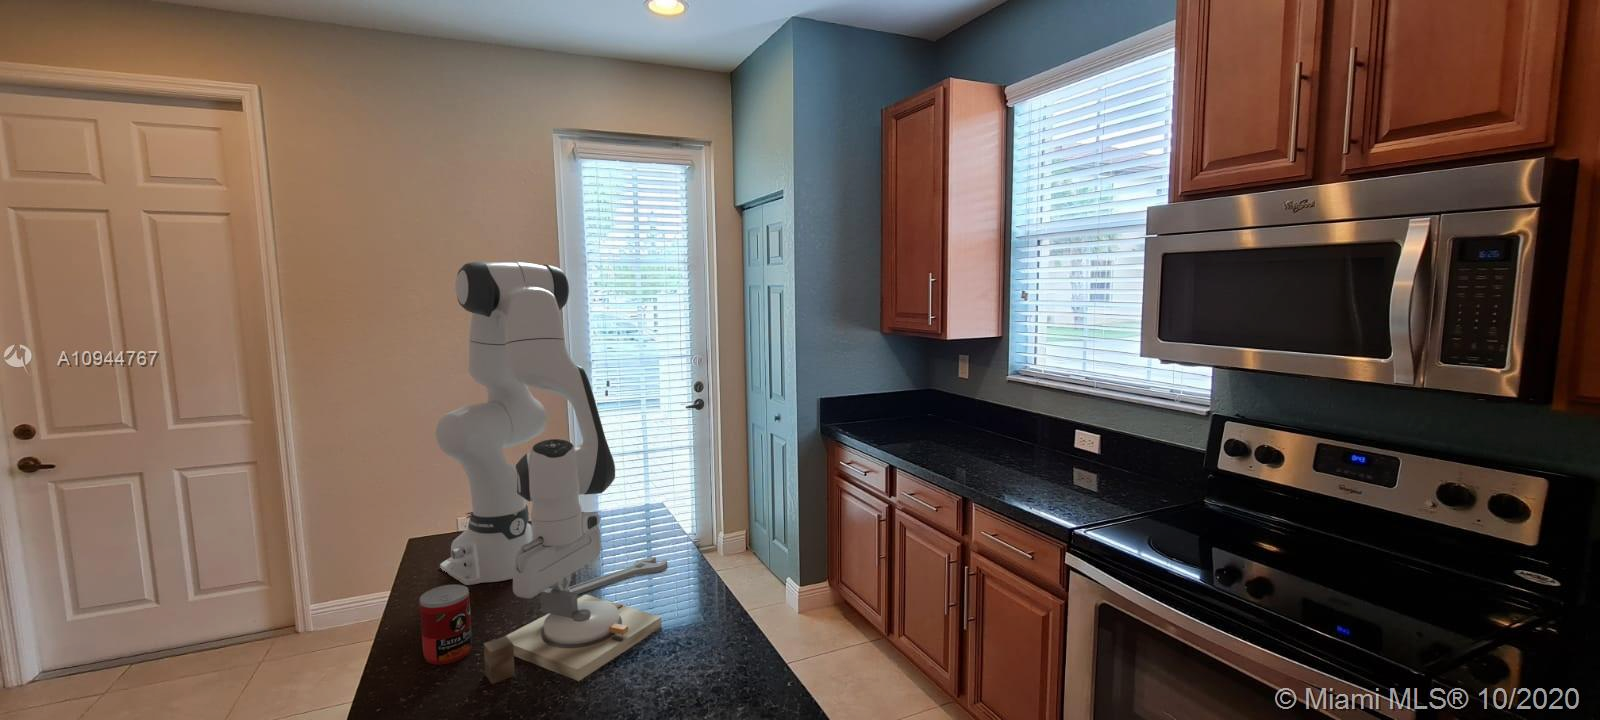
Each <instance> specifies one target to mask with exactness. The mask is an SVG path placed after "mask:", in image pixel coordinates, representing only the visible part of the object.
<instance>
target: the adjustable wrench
mask: <svg viewBox="0 0 1600 720" xmlns="http://www.w3.org/2000/svg"><path fill="white" fill-rule="evenodd" d="M655 562H656V563H655ZM667 568H668V559H666V558H665V559H663V560H662V561H661V562H657V558H656V556H651V557H646V558H643V559H638V560H636V562H635V563H633V565H632V566H629V567H627V568H624V569H621V570H617V571H614V572H612V573H609V574H605V575H602V576H599V577H596V578H592V579H590V580H587V581H583V582H581V583H577V584H574V585H572V586H571V585H570V586H569V587H568V589H567V592H573V593H577V595H580V594H583V593H586V592H589V591H592V590H595V589H598V588H601V587H604V586H607V585H609V584H613V583H616V582H619V581H622V580H626V579H628V578H631V577H634V576H637V575H645V574H652V572H653V573H657V572H658V571H659V572H661V571H665V569H667ZM659 572H658V573H659Z"/></svg>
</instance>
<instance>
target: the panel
mask: <svg viewBox="0 0 1600 720" xmlns="http://www.w3.org/2000/svg"><path fill="white" fill-rule="evenodd" d="M585 601H602V602H607V603H610V604H613V605H614V606H616V607H617V609H618V611H619V624H621V625H626V626H628V632H627V633H625V634H624V635H621V634H616V633H612V632H611V633H609V634H608V635H606V636H604V637H602V638H600V639H597V640H594V641H591V642H587V643H581V644H558V643H555V642H552V641H550V640H548V639H547V638H546V637H545V634H544V621H545V619H546V618H547V616H548V615H550V614H549V613H546V614H545V615H543V616H541V617H539V618H537V619H535V620H534V621H531V622H530V623H528V624H525V625H524V626H522V627H519V628H518V629H516V630H514V631H512V632H510V633H508V634H506V635H505V636H507V638H508V639H509V640H510V641H511V642H512V643H513V650H514V657H516V658H519V659H521V660H523V661H526V662H529V663H531V664H533V665H536V666H539V667H542V668H544V669H546V670H549V671H552V672H555V673H557V674H559V675H561V676H564V677H567V678H569V679H572V680H574V681H577V682H580V681H582V680H583V679H584V678H586V677H588V676H589V675H591V674H592V673H593V672H595V671H596V670H598V669H600V668H602V666H604V665H606V664H608V663H609V662H610V661H612V660H614V659H615V658H617V657H618V656H619V655H621V654H622V653H625V652H626V651H627V650H629V649H630V648H632V647H634V646H635V645H636V644H638V643H639V642H641V641H642V640H644V639H645V638H647V637H649V636H651V635H652V634H653V633H655V632H656V631H658V630H659V629H661V628H662V627H661V626H663V625H662V616H660V615H656V614H653V613H649V612H646V611H642V610H640V609H635V608H633V607H629V606H626V605H623V603H617V602H616V603H615V602H612V601H609V600H605V599H603V598H600V597H595V596H592V595H589V594H584V595H582V596H580V597H577V602H585ZM660 627H661V628H660ZM658 628H659V629H658ZM657 629H658V630H657ZM655 630H656V631H655ZM654 631H655V632H654ZM652 632H653V633H652ZM651 633H652V634H651ZM648 635H649V636H648Z"/></svg>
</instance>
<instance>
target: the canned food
mask: <svg viewBox="0 0 1600 720" xmlns="http://www.w3.org/2000/svg"><path fill="white" fill-rule="evenodd" d="M470 602H471V600H470V592H469V588H468V587H467V585H466V586H465V585H464V584H463V585H462V584H445V585H440V586H438V587H434V588H432V589H429V590H428V591H425V592H424V593H422V594H421V596H420V597H419V614H420V615H419V617H420V627H421V640H422V652H423V657H424V659H425V661H426V663H428V664H431V665H448V664H451V663H454V662H457V661H460V660H461V659H463V658H465V657H467V655H468V654H470V653H471V650H472V647H473V635H472V633H473V632H472V621H471V620H472V618H471V617H472V616H471V603H470Z"/></svg>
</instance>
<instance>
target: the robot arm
mask: <svg viewBox="0 0 1600 720" xmlns="http://www.w3.org/2000/svg"><path fill="white" fill-rule="evenodd" d="M454 284H455V294H456V298H457V301H458V304H459V305H460V306H461V307H462V308H463V310H465V311H467V312H469V313H472V314H471V319H470V329H469V342H468V343H469V344H468V345H469V346H468V347H469V348H468V349H469V350H468V351H469V352H468V373H469V375H470V377H471V379H473V380H474V381H475V382H476V383H478V384H480V385H482V386H484V388H485V389H486V393H487V402H481V403H477V404H471V405H470V404H469V405H464V406H461V407H459V408H456V409H454V410H452V411H450V412H448V413H445V414H443V415H442V416H441V417H440V418H439V420H438V422H437V424H436V428H435V440H436V442H437V443H436V444H437V445H438V447H439V448H440V449H441V450H442V452H443V453H444V454H446V455H447V456H448V457H451V458H453V459H454V460H455V461H457V462H458V463H459V464H460V466H461V467H462V469H464V471H465V474H466V476H467V479H468V481H469V487H470V488H469V489H470V497H471V506H472V511H471V512H466V513H465V515H468V516H466V519H468V520H469V521H468V526H467V528H466V529H465V530H464V531H463V532H462V533H461V534H460V535H458V536H457V537H456V538H455V539H454V540H453V541H452V543H451V546H450V557H449V558H447V559H446V560H444V561H442V562H441V563H440V564H439V569H440V568H441V569H442V570H441V569H440V570H441V571H442V572H444V571H445V573H446V572H447V573H448V574H447V573H446V574H447V575H448V576H451V577H452V578H453V579H455V580H457V581H458V580H459V582H460V583H462V584H463V585H464V586H465V585H466V586H470V585H476V584H480V583H481V584H482V583H494V582H495V583H497V582H501V581H502V582H504V581H508V580H512V592H513V594H514V595H515V596H516V597H519V598H522V599H533V598H534V597H536V596H537V595H539V594H541V592H542V591H544V590H546V589H547V588H551V589H555V590H560V591H561V590H562V591H567V589H568V587H570V583H571V581H572V574H573V573H575V572H576V571H579V570H580V569H582V568H583V567H585V566H587V565H588V564H589V563H591V562H593V561H594V560H597V559H598V558H599V556H600V554H601V550H602V541H601V540H602V538H601V537H602V536H601V529H600V527H599V524H600V521H601V517H600V514H598V513H593V512H587V511H582V510H583V509H582V505H581V502H580V500H579V499H580V495H585V496H586V495H597V494H602V493H603V492H605V491H606V490H607V489H608V488H609V487H610V486H611V485H612V484H613V482H614V480H615V479H616V464H615V460H614V457H613V455H612V452H611V450H610V447H609V445H608V442H607V438H606V435H605V432H604V428H603V425H602V421H601V417H600V414H599V410H598V407H597V402H596V399H595V397H594V396H595V395H594V393H593V390H592V389H593V388H592V386H591V383H590V380H589V378H588V375H587V373H586V371H585V369H584V367H583V366H580V365H578V364H576V363H575V362H574V361H573V360H572V358H571V356H570V355H569V352H568V349H567V347H566V341H565V339H566V338H565V330H564V325H563V320H562V315H561V310H562V309H563V308H564V307H565V305H567V302H568V301H569V300H568V299H569V293H570V287H569V286H570V285H569V281H568V278H567V276H566V275H565V272H564V271H563V270H562V269H561V268H559V267H556V266H553V265H549V264H542V265H541V264H537V263H531V262H523V261H513V262H509V261H504V262H503V261H497V262H495V261H493V262H492V261H490V262H485V261H483V260H482V261H481V260H480V261H472V262H469V263H465V264H464V265H462V266H461V268H460V269H459V270H458V272H457V276H456V281H455V283H454ZM529 387H532V388H535V389H539V390H542V391H546V392H549V393H552V394H553V393H554V394H556V395H559V396H561V397H563V398H565V399H566V400H568V402H569V403H570V404H571V405H572V407H573V410H574V413H575V416H576V419H577V424H578V427H579V431H580V434H581V438H582V444H580V445H577V446H575V445H574V444H573V443H572V442H571V441H568V440H565V439H559V438H551V439H545V440H541V441H539V442H537V443H535V444H534V445H533V446H532V447H531V448H530V452H528V453H525V454H524V455H523V456H522V457H521V458H520V459H519V460H518V462H517V463H516V464H515V466H514V465H512V464H510V463H509V464H508V462H507V460H506V458H505V454H504V449H506V448H510V447H513V446H518V445H521V444H526V443H528V441H529V442H530V441H531V440H532V439H535V438H537V437H538V436H540V435H541V434H542V433H544V431H545V429H546V426H547V422H548V420H547V419H548V415H547V412H546V408H545V407H544V405H543V404H542V403H541V401H539V400H538V399H536V398H535V397H534V396H533V394H532V393H531V391H530V390H529ZM526 502H532V509H531V513H530V511H529V506H528V504H527V503H526ZM529 516H530V517H529ZM529 518H530V519H529ZM529 521H531V522H530V523H531V524H530V523H529Z"/></svg>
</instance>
